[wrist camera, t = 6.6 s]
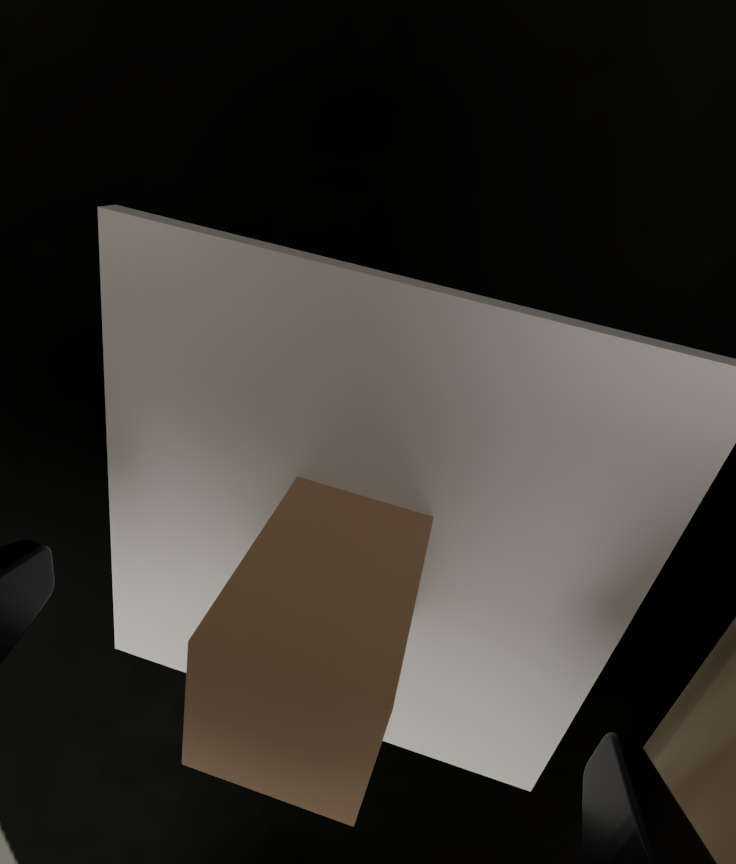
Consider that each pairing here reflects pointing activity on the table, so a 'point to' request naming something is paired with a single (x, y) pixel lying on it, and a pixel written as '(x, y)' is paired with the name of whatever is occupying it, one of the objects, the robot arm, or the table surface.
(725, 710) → the box
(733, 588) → the table surface
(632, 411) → the lid
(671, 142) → the table surface
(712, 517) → the table surface
